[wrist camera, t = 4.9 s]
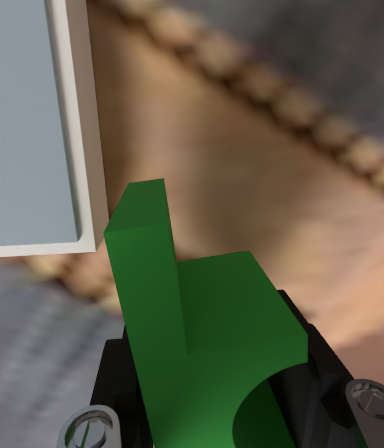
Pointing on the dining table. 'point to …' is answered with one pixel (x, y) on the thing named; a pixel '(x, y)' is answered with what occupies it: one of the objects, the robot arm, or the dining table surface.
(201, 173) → the dining table surface
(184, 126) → the dining table surface
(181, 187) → the dining table surface
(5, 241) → the stand
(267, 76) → the dining table surface
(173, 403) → the pipe clamp
